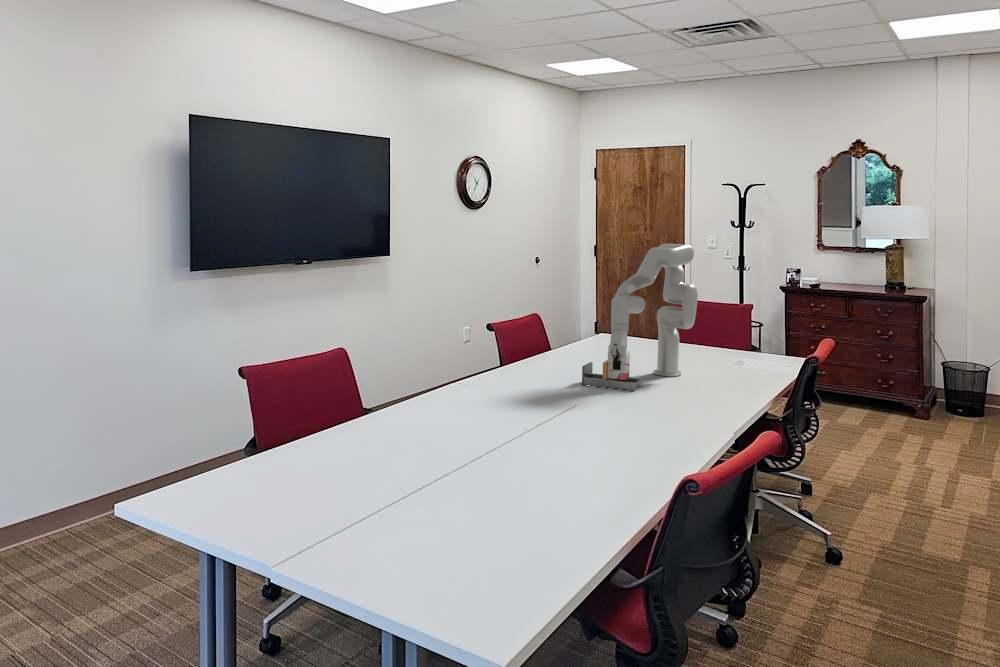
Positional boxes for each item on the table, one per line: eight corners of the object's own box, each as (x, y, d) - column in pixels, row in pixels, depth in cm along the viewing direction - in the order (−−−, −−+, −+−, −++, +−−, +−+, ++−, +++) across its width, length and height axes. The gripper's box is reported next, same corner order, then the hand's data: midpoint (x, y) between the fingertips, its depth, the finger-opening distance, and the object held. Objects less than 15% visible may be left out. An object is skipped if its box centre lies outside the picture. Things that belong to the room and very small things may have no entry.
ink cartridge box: (629, 377, 320) (630, 344, 318) (626, 380, 316) (627, 346, 314) (610, 375, 324) (611, 342, 322) (606, 378, 320) (607, 344, 317)
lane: (589, 380, 331) (590, 362, 330) (640, 386, 321) (641, 367, 320) (581, 385, 323) (582, 366, 321) (633, 391, 312) (634, 371, 311)
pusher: (607, 381, 326) (608, 359, 325) (611, 382, 326) (611, 359, 324) (602, 385, 320) (602, 362, 318) (605, 385, 319) (606, 362, 318)
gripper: (617, 323, 325) (616, 363, 329) (604, 328, 310) (603, 371, 314) (634, 324, 322) (633, 365, 325) (622, 330, 307) (620, 373, 310)
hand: (618, 367), depth 319 cm, fingers closed on ink cartridge box, 5 cm apart
